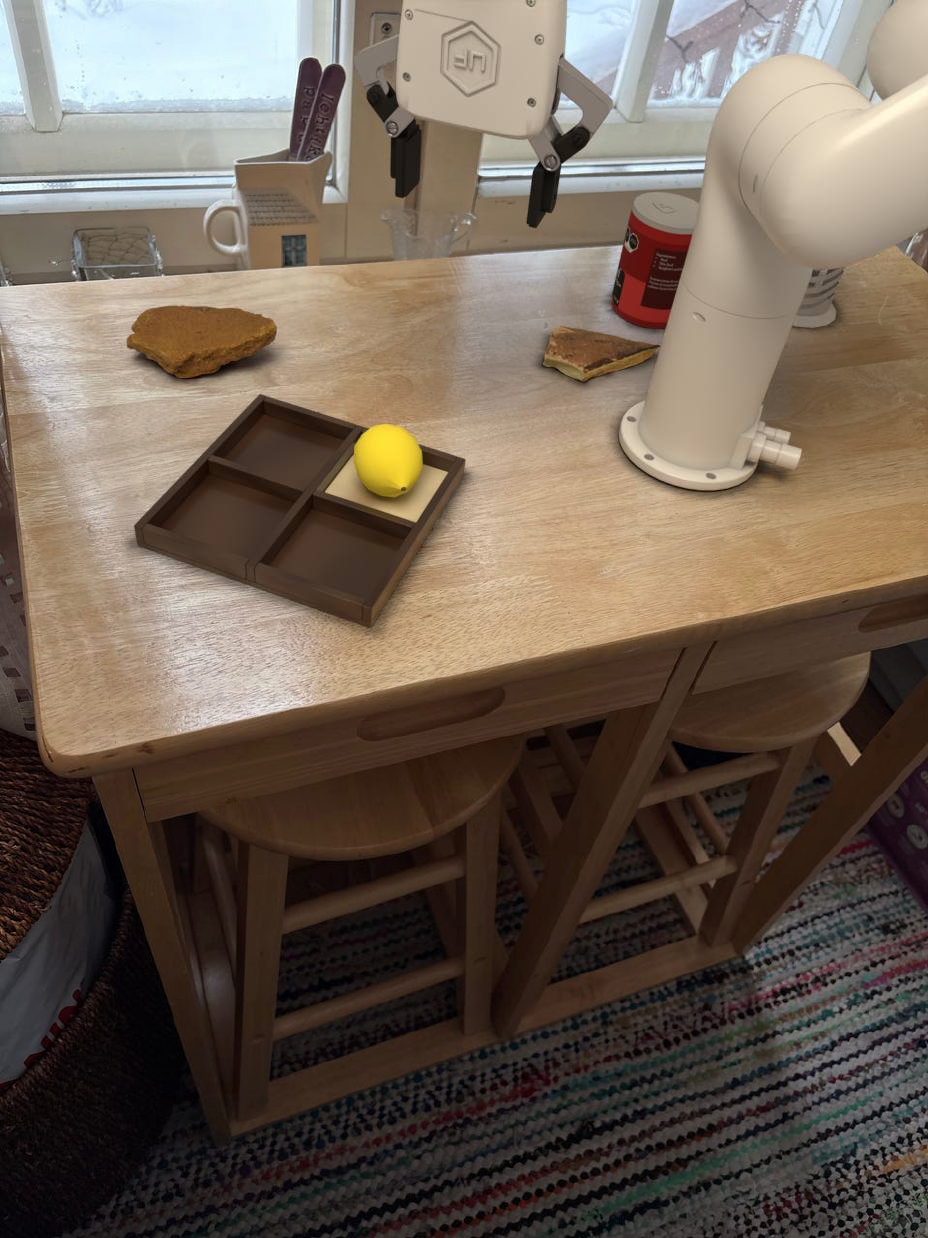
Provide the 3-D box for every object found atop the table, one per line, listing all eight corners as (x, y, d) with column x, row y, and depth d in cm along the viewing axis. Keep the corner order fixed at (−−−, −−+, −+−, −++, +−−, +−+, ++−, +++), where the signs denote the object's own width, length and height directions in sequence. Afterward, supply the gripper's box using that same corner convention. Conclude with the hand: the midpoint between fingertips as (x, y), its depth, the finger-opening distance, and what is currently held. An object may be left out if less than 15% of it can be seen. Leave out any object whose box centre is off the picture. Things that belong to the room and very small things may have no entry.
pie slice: (657, 358, 98) (661, 342, 97) (651, 399, 93) (655, 383, 92) (551, 335, 99) (554, 319, 98) (539, 376, 94) (542, 359, 93)
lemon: (342, 465, 80) (344, 410, 77) (405, 457, 82) (410, 402, 78) (367, 521, 76) (369, 466, 72) (432, 510, 78) (438, 456, 74)
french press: (730, 293, 109) (812, 45, 91) (796, 271, 115) (886, 32, 96) (798, 336, 104) (898, 82, 86) (864, 310, 110) (972, 67, 91)
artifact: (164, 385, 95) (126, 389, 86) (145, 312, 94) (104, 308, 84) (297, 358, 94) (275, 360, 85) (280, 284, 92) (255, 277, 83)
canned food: (630, 283, 108) (655, 183, 100) (694, 311, 105) (725, 211, 97) (595, 308, 104) (618, 206, 96) (661, 338, 101) (691, 235, 93)
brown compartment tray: (463, 477, 82) (466, 458, 81) (370, 628, 70) (371, 608, 68) (260, 412, 85) (259, 393, 84) (137, 545, 73) (133, 525, 71)
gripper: (329, -99, 56) (336, 200, 68) (626, -48, 53) (576, 255, 65) (379, -123, 61) (377, 160, 73) (653, -77, 58) (602, 209, 70)
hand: (471, 204), depth 69 cm, fingers open, 9 cm apart
